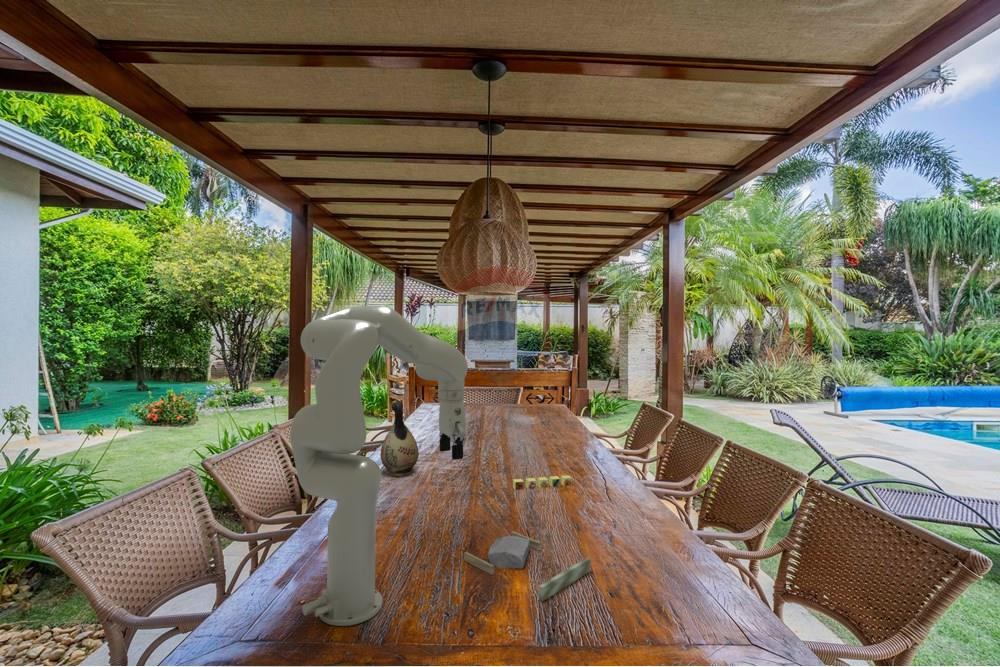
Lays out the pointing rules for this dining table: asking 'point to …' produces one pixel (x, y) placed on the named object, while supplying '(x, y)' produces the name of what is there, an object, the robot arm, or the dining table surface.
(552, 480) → the yellow picture cubes row
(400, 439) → the round beige bottle
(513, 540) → the stone block
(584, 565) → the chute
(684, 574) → the dining table surface
